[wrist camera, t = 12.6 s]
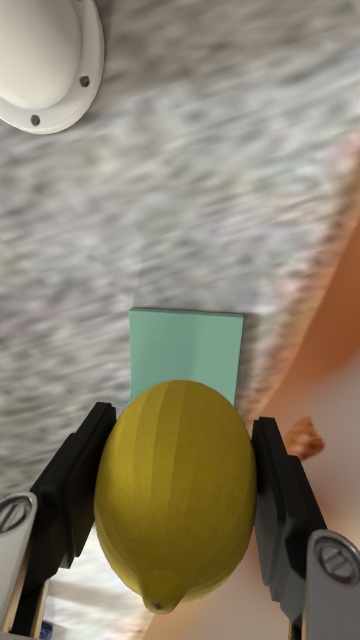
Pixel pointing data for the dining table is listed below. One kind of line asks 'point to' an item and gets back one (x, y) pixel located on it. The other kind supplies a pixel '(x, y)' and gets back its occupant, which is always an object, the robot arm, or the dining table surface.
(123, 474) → the lemon
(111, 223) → the dining table surface
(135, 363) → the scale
